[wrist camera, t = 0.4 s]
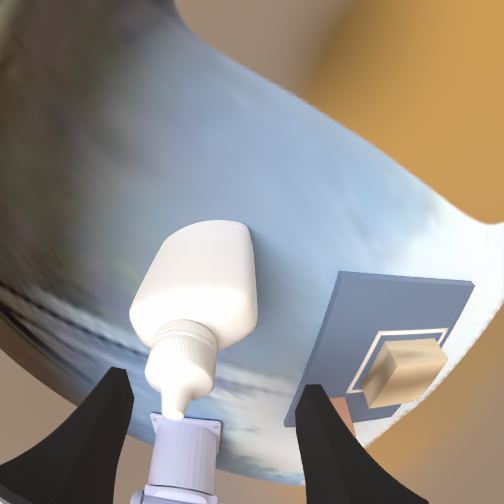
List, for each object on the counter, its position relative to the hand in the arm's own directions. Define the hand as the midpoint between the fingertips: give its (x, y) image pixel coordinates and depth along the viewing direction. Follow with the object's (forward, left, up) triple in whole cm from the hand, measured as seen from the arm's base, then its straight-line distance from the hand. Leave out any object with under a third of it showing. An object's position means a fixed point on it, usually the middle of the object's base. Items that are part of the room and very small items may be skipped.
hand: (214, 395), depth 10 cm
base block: (-8, -17, -9) cm, 21 cm away
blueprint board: (-9, -15, -10) cm, 20 cm away
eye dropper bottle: (+2, +1, -10) cm, 10 cm away
